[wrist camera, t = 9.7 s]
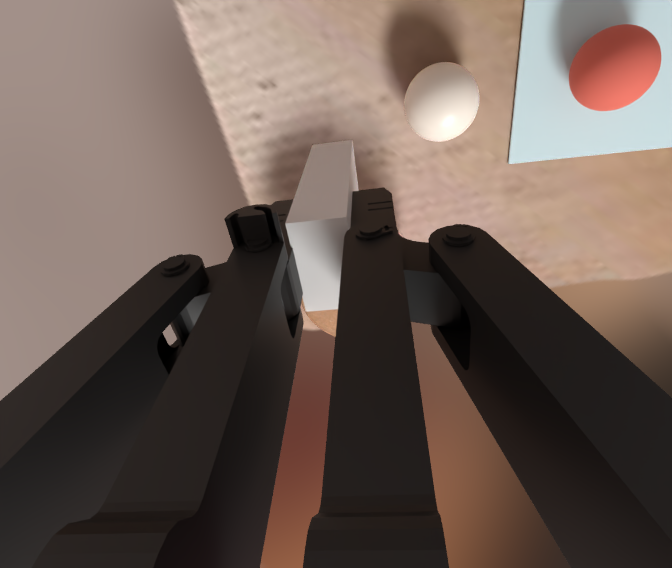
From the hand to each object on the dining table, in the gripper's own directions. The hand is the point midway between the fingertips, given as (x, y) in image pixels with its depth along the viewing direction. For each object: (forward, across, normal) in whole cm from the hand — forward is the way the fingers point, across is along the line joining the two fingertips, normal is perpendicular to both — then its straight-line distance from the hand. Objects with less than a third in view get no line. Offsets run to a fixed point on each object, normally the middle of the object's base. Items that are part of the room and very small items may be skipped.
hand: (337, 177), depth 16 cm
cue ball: (+19, +7, -2) cm, 20 cm away
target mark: (+22, +20, -1) cm, 29 cm away
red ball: (+19, +19, -1) cm, 27 cm away
